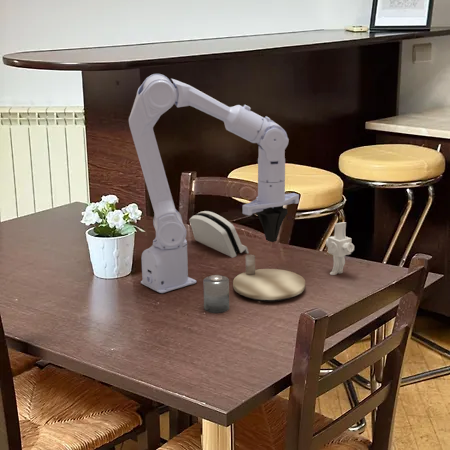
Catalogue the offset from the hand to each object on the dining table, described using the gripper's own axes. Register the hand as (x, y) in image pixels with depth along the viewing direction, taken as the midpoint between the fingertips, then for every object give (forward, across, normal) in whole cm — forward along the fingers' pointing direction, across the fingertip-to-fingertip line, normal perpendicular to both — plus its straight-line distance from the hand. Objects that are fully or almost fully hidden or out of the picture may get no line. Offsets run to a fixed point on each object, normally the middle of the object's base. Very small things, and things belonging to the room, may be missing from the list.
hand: (271, 240), depth 168 cm
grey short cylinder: (+8, +20, +6) cm, 22 cm away
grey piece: (+9, -3, -23) cm, 25 cm away
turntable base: (+8, +6, +6) cm, 12 cm away
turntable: (+8, +6, +6) cm, 12 cm away
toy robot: (+8, -12, +9) cm, 17 cm away
